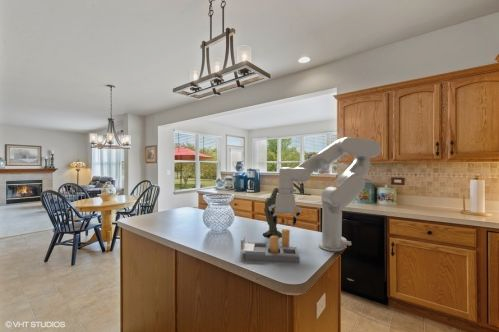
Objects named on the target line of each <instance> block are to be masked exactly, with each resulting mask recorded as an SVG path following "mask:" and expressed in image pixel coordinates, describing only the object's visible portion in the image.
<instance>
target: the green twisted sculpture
mask: <svg viewBox="0 0 499 332" xmlns="http://www.w3.org/2000/svg"><path fill="white" fill-rule="evenodd" d="M277 193H279V187H275V188H273V190H272V192H271V194H270V197H266V200H265V201H264V208H263V211H264V214H265V218H266V223H267V225H268V230H267V231H266V232H263V233H262V236H263V237H264V238H265V237H267V238H270V236H278V237H279V238H280V237H282V231H280V230H278V227H277V226H278V216H277V215H276V224H274V222H273V215H272V214H271V213H270V211H269V209H268V207H270V206H272V205H274V204H275V203H276V195H277ZM272 211H273V212H275V207H274V208H272Z"/></svg>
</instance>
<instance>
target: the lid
mask: <svg viewBox="0 0 499 332" xmlns="http://www.w3.org/2000/svg"><path fill="white" fill-rule="evenodd" d="M254 247H255V244H250V243H248V242H247V243H246V236H243V235H242V236H241V239H240V251H239V252H240V254H241V253H243V254H245V251H254Z"/></svg>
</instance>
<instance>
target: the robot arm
mask: <svg viewBox="0 0 499 332" xmlns="http://www.w3.org/2000/svg"><path fill="white" fill-rule="evenodd" d="M381 152H382V147H381V144H380V143H379V142H378V141H376V140H373V139H367V138H361V137H360V138H359V137H353V136H346V137H341V138H339V139H337V140H335V141H333V142H332V143H330V144H329V145H328V146H326V147H325V148H324V149H322V150H321V151H319V152H318V153H315V154H314V155H313V156H311V157H310V158H308V159H306V160H304V161H303V162H302V163H300V164H299V165H297V166H296V167H294V168H293V167H287V166H286V167H285V166H283V167H279V171H278V173H279V174H278V189H279V193H277V195H276V203H275V204H274V205H272V206H270V207H268V209H269V211H270V213H271V214H272V215H273V222H274V224H276V216H277V214H290V215H291V214H292V215H293V217H292V225H293V226H295V225H296V224H297V218H298V217H300V214H301V213H302V211H303V208H301V207H300V206H298V205H296V197H295V194H294V193H296V192H297V189H295V188H294V186H295V185H294V183H295V182H297V183H306V182H308V181H309V180H310V179H311V175H312V173H314V172H317V171H318V170H321V169H325V168H327V167H329V166H331V165H332V164H334V163H335V162H336V161H338V160H340V159H341V158H342V157H344V156H346V155H352V156H353V161H352V163H351V164H350V165H349V166H348V167H347V168H346V169H345V171H344V172H342V173H341V174H340V175H339V177H337V181H336V182H337V187H335V186H327V187H325V188H324V189H323V191H322V192H321V208H322V222H321V223H322V225H321V230H322V232H321V241H320V242H318V247H320V249H323V250H324V251H328V252H342V251H344V250H345V246H352V241H349V240H348V239H347V240H346V239H344V240H343V238H342V227H343V225H342V224H343V220H342V219H343V211H342V209H343V208H347V206H349V205H350V204H351V203H352V202H353V201H354V200H355V199H356V198H357V197H358V196H359V194H361V193H362V192H363V190H364V189H365V186H366V181H365V177H364V176H366V174H368V172H369V170H370V167H371V159H373V158H375V157H377V156H379V155H380V153H381ZM274 207H275V209H274V210H275V212H273V211H272V208H274ZM296 210H298V211H297V212H296Z"/></svg>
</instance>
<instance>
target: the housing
mask: <svg viewBox="0 0 499 332" xmlns="http://www.w3.org/2000/svg"><path fill="white" fill-rule="evenodd" d="M247 243H250V244H255V247H254V251H245V253H244V255H245V257H244V258H245V261H261V262H263V261H265V262H281V263H283V262H285V263H300V254H299V251H298V248H297V246H289V247H283V246H282V245H281V246H280V245H279V246H278V253H270V245H267V242H257V241H256V242H255V241H254V242H253V241H252V242H250V241H249V242H247Z"/></svg>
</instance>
